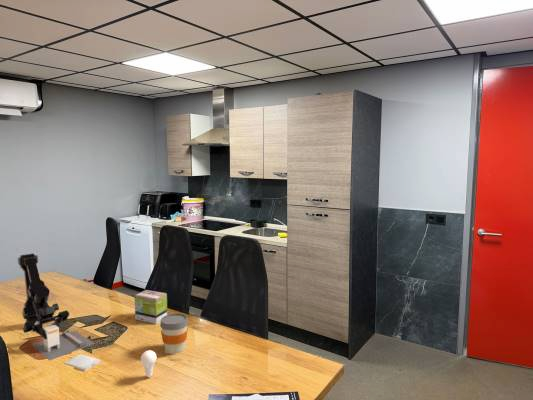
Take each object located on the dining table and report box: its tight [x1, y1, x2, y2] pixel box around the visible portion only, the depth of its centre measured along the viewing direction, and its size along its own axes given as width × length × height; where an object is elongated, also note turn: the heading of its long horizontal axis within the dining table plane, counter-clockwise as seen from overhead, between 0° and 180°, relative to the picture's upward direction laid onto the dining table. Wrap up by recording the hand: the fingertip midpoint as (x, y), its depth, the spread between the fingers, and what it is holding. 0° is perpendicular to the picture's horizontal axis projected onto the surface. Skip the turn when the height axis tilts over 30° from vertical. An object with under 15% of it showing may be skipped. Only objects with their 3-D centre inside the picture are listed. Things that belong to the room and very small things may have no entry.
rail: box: [61, 329, 86, 348], centre depth 181 cm, size 20×3×2 cm, turn 50°
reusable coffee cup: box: [160, 313, 189, 355], centre depth 172 cm, size 12×13×15 cm
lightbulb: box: [140, 350, 158, 378], centre depth 150 cm, size 6×6×11 cm
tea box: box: [134, 289, 168, 325], centre depth 207 cm, size 15×10×15 cm, turn 68°
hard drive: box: [64, 354, 102, 372], centre depth 161 cm, size 2×8×12 cm
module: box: [43, 324, 60, 352], centre depth 172 cm, size 5×5×10 cm
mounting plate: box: [31, 330, 95, 361], centre depth 177 cm, size 22×20×1 cm
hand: (52, 336), depth 172 cm, fingers closed on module, 5 cm apart
